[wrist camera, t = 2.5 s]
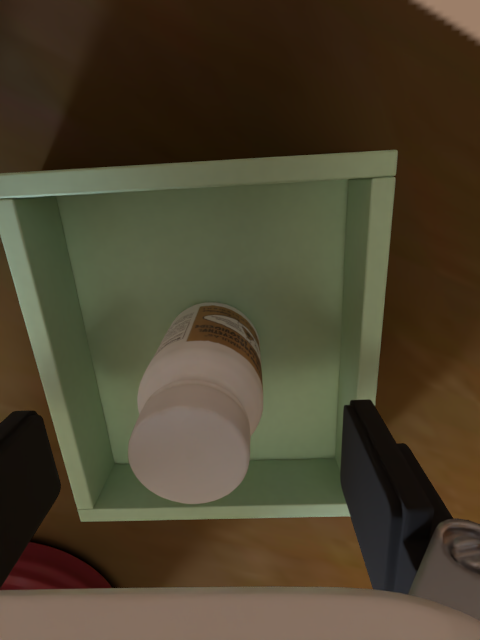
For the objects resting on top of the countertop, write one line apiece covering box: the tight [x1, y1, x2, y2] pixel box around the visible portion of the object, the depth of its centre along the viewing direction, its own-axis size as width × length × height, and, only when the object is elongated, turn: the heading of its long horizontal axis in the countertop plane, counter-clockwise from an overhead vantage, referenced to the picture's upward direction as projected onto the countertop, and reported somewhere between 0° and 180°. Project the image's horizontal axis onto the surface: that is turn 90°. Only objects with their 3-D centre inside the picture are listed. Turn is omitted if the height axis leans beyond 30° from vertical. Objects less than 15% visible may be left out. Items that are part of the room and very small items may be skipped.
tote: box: [0, 150, 398, 522], centre depth 16 cm, size 16×14×3 cm
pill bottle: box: [128, 302, 263, 504], centre depth 14 cm, size 4×4×8 cm
